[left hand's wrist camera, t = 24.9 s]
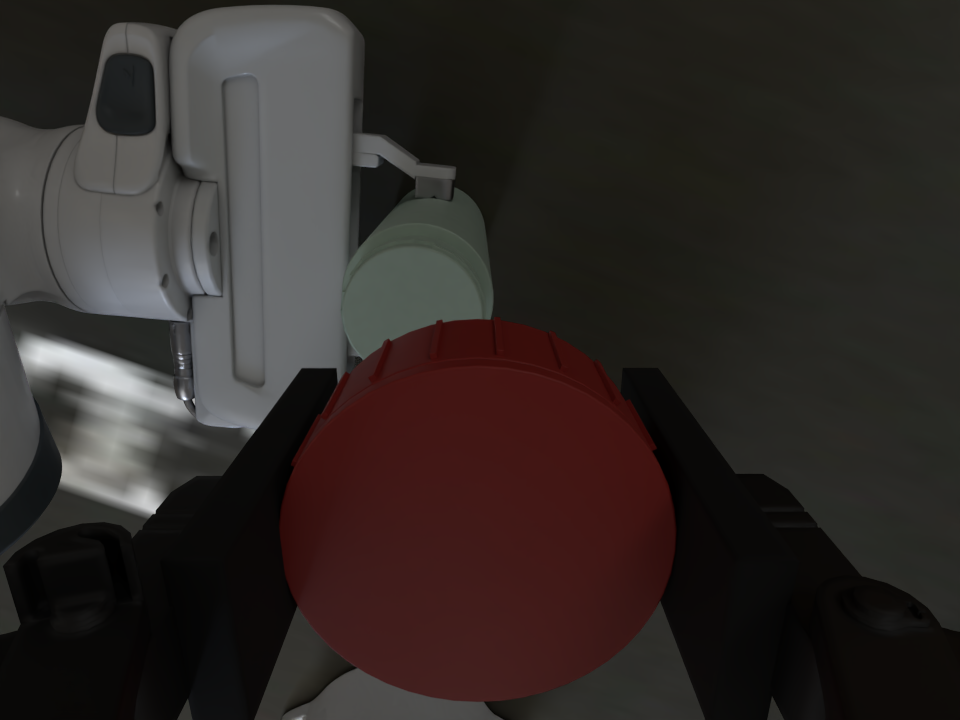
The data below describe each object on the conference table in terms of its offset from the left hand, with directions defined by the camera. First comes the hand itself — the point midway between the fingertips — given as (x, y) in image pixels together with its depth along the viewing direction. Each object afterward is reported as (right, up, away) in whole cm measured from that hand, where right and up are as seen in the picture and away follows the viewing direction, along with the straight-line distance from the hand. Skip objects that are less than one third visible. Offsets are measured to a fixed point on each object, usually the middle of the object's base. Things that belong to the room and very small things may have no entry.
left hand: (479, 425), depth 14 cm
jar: (-2, +9, +23) cm, 25 cm away
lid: (0, -1, -4) cm, 4 cm away
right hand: (-2, +7, +17) cm, 19 cm away
